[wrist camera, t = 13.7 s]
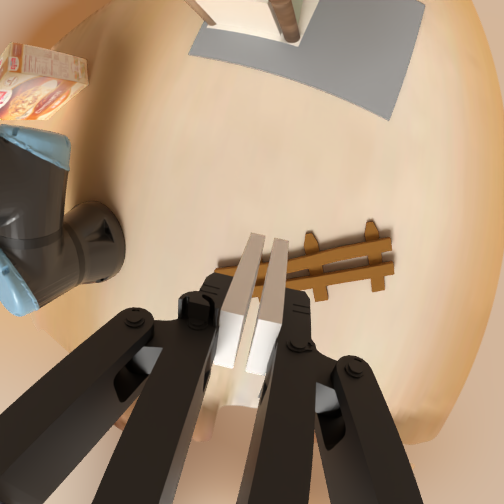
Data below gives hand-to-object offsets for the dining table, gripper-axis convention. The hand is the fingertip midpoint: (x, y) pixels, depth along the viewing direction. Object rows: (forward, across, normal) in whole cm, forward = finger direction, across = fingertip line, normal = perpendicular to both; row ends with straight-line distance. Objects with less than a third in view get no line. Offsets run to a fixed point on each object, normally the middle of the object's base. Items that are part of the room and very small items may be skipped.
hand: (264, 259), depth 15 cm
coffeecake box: (+31, +46, -11) cm, 57 cm away
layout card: (+27, +1, -25) cm, 37 cm away
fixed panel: (+28, +10, -21) cm, 36 cm away
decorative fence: (+22, -6, +12) cm, 26 cm away
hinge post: (+27, +2, -20) cm, 34 cm away
